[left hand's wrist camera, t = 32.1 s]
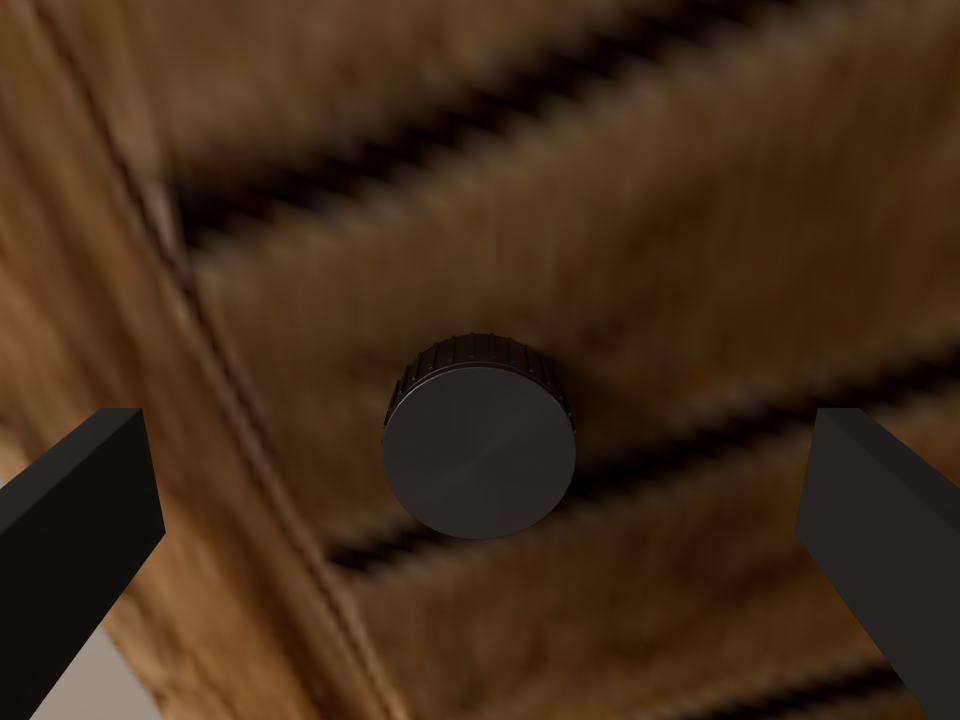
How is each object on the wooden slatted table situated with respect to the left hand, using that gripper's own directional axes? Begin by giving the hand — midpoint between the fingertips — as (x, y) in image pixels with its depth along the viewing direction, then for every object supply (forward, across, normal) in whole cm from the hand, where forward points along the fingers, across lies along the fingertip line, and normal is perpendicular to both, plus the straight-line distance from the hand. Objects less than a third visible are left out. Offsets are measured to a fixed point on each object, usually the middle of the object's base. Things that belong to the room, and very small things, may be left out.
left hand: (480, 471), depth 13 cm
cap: (+1, 0, 0) cm, 1 cm away
